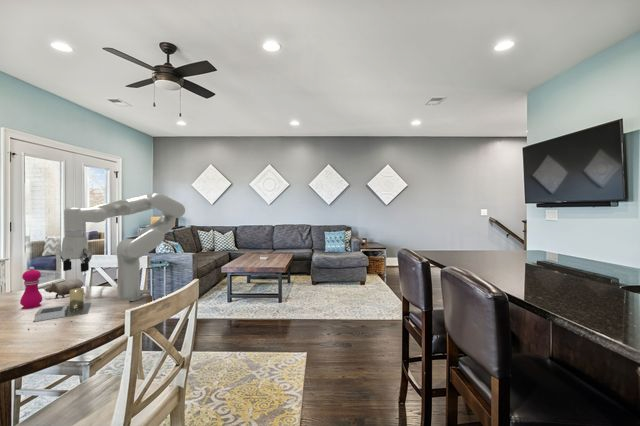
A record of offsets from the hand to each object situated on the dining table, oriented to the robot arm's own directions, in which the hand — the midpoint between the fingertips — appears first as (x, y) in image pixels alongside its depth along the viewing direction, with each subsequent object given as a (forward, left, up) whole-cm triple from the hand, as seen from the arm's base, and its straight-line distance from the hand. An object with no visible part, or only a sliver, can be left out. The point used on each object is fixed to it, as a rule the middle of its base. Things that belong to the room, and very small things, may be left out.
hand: (76, 270), depth 130 cm
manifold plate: (+3, +5, -18) cm, 19 cm away
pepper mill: (+17, -11, -19) cm, 27 cm away
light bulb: (0, 0, -17) cm, 17 cm away
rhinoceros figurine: (+7, -26, -19) cm, 33 cm away
